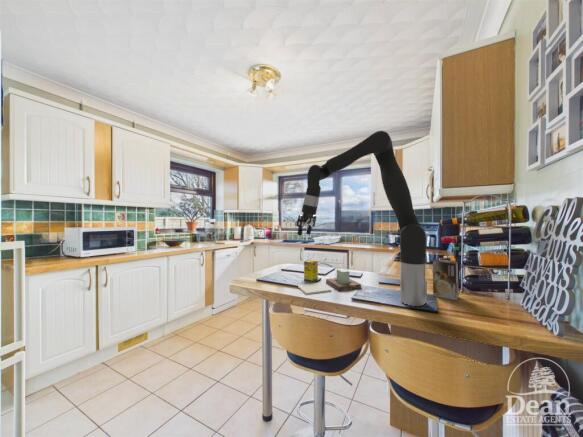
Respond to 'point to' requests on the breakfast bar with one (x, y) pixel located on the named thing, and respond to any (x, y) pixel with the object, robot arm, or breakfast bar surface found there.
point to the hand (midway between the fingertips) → (303, 234)
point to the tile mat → (313, 288)
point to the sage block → (342, 276)
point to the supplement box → (310, 270)
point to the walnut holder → (342, 287)
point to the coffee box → (445, 279)
